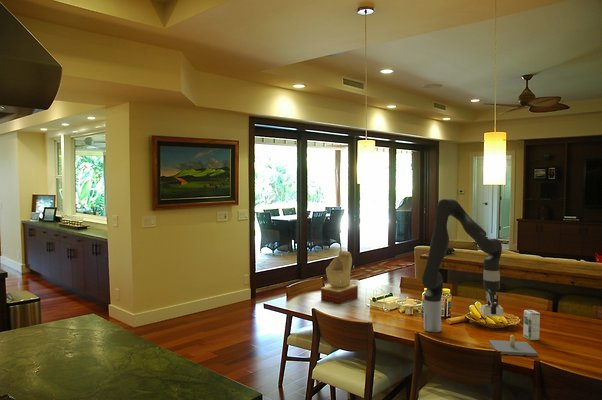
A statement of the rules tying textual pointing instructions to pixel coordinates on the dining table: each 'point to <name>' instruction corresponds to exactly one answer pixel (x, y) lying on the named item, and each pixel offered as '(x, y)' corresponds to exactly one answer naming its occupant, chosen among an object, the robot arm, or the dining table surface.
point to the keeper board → (513, 347)
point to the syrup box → (531, 324)
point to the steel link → (487, 310)
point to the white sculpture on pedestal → (340, 281)
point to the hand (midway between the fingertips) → (491, 312)
